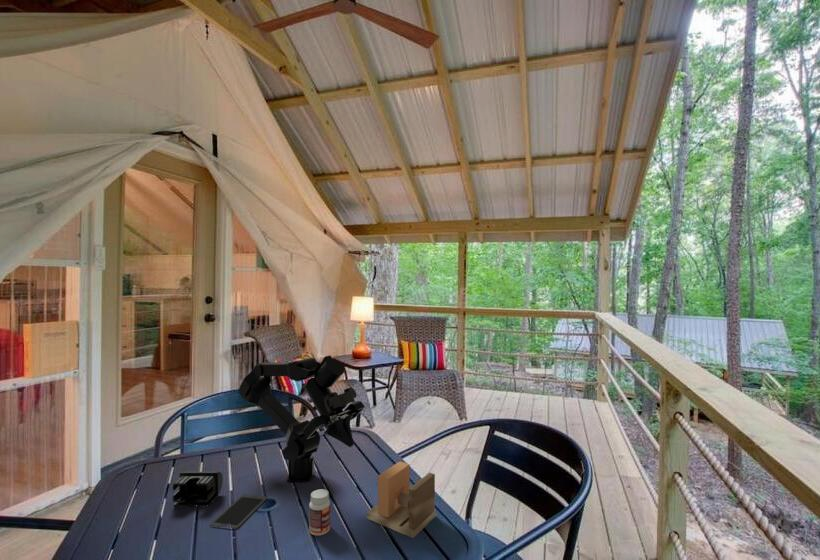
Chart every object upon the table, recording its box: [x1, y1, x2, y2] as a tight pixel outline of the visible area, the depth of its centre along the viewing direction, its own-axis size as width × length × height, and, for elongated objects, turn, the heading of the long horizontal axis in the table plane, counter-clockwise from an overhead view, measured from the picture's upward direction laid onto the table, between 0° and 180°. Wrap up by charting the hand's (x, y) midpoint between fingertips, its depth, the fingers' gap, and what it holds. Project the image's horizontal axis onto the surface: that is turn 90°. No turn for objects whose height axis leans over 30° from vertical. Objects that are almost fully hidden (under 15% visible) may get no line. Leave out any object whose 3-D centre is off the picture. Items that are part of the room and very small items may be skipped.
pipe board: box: [366, 472, 437, 539], centre depth 99 cm, size 13×10×10 cm
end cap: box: [172, 471, 224, 507], centre depth 107 cm, size 10×7×7 cm
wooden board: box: [377, 461, 411, 518], centre depth 100 cm, size 3×9×9 cm, turn 146°
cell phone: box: [209, 493, 268, 531], centre depth 101 cm, size 7×14×1 cm, turn 169°
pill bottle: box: [308, 488, 331, 536], centre depth 94 cm, size 5×5×8 cm
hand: (352, 445), depth 108 cm, fingers closed
